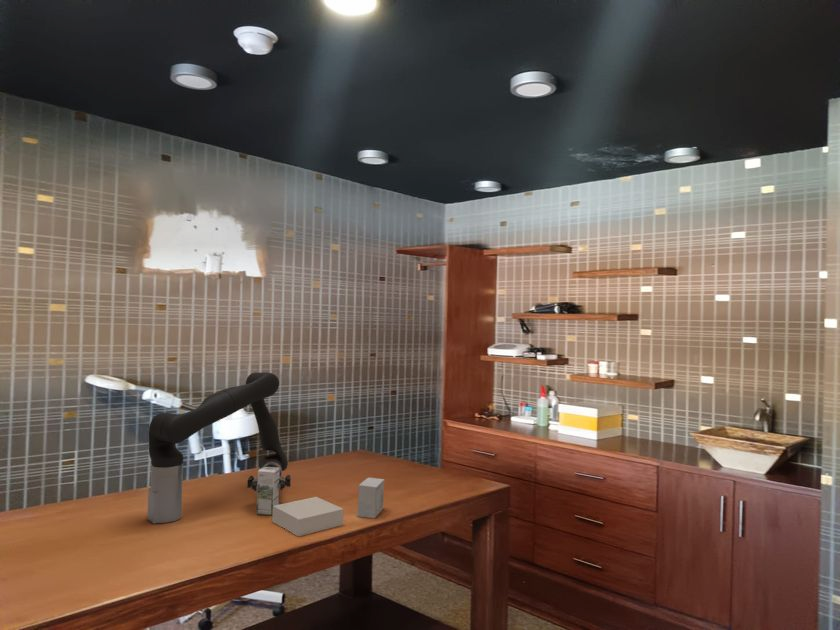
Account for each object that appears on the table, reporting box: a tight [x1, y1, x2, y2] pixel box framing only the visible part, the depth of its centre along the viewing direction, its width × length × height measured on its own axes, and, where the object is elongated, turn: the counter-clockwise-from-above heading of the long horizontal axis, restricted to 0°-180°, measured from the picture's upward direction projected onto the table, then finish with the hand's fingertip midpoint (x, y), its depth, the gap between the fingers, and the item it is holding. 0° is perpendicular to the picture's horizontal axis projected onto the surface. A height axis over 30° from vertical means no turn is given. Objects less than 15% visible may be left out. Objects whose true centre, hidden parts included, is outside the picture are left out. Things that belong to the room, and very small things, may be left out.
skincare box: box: [356, 477, 385, 519], centre depth 192 cm, size 10×6×10 cm, turn 168°
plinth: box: [271, 496, 344, 537], centre depth 180 cm, size 16×16×5 cm
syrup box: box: [256, 467, 280, 516], centre depth 189 cm, size 6×6×14 cm
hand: (268, 487), depth 189 cm, fingers open, 8 cm apart
